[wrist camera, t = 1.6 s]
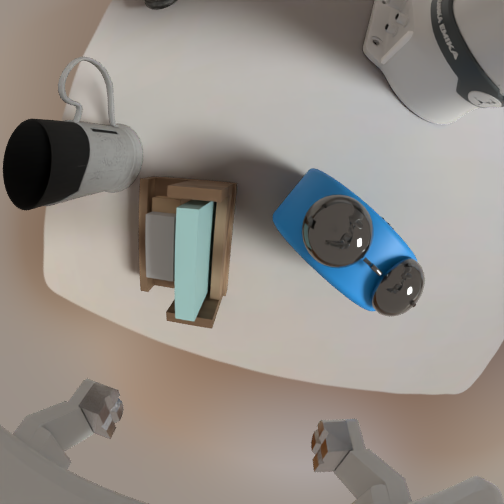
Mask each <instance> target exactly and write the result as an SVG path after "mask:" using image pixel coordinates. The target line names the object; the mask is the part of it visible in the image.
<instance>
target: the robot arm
mask: <svg viewBox="0 0 504 504" xmlns="http://www.w3.org/2000/svg"><path fill="white" fill-rule="evenodd" d="M373 42H375V43H376V44H377V45H375V44H374V43H373ZM363 52H364V54H365V55H366V56H367V57H368V58H369V59H370V60H371V61H372V62H373V63H374V64H375V65H376V66H377V67H379V68H380V69H381V71H382V72H383V74H384V75H385V77H386V79H387V81H388V82H389V84H390V86H391V88H392V89H393V91H394V92H395V94H396V95H397V96H398V97H399V99H400V100H401V101H402V102H403V103H404V104H405V105H406V106H407V107H408V108H409V109H410V110H411V111H412V112H414V113H415V114H416V115H418V116H419V117H421V118H423V119H425V120H427V121H429V122H432V123H435V124H442V125H445V124H451V123H453V122H455V121H457V120H458V119H460V118H461V117H462V116H464V115H465V114H467V113H469V112H471V111H473V110H476V109H478V108H497V107H503V106H504V0H375V1H374V5H373V9H372V13H371V17H370V21H369V25H368V29H367V33H366V37H365V41H364V45H363ZM119 396H120V394H119V391H118V390H117V389H114V388H111V387H108V386H105V385H103V384H100V383H98V382H95V381H93V380H90V379H86V380H84V381H83V382H82V384H81V385H80V386H79V388H78V389H77V390H76V392H75V393H74V394H73V396H72V397H71V399H70V400H69V401H68V402H67V401H64V402H62V403H59V404H57V405H54V406H52V407H49V408H47V409H44V410H41V411H39V412H36V413H33V414H31V415H28V416H26V417H25V418H24V420H23V421H22V422H21V424H20V425H19V426H18V428H17V429H16V431H15V432H14V433H13V434H11V433H10V432H9V431H8V430H6V429H5V428H4V427H3V426H1V425H0V504H149V503H146V502H142V501H139V500H136V499H133V498H131V497H128V496H125V495H122V494H119V493H117V492H114V491H112V490H109V489H107V488H105V487H102V486H100V485H98V484H96V483H93V482H91V481H89V480H87V479H85V478H83V477H80V476H79V475H77V474H74V473H73V472H71V471H69V470H67V469H68V467H69V465H70V463H71V460H70V458H69V457H68V456H67V455H66V453H65V452H64V451H66V450H68V449H69V448H71V447H73V446H75V445H76V444H78V443H79V442H81V441H83V440H84V439H86V438H88V437H89V436H91V435H92V434H93V433H95V434H98V435H101V436H104V437H106V438H109V439H111V437H112V435H113V433H114V431H115V429H116V427H115V423H117V422H118V421H120V419H121V417H122V414H123V404H122V401H121V400H120V399H119ZM311 448H312V452H313V453H314V454H315V457H314V458H313V467H314V472H331V471H334V473H335V474H336V476H337V477H338V478H339V479H340V480H341V481H342V483H343V484H344V485H345V486H346V487H347V488H348V489H349V491H350V492H351V493H352V494H353V495H354V496H355V497H356V499H357V500H355V501H354V502H353V503H352V504H504V500H503V497H502V494H501V492H500V490H499V488H498V487H497V486H496V485H495V484H493V483H491V482H490V481H487V480H486V479H484V478H482V477H479V476H474V477H471V478H469V479H467V480H465V481H463V482H460V483H458V484H456V485H454V486H452V487H450V488H447V489H445V490H443V491H440V492H437V493H435V494H432V495H430V496H427V497H424V498H421V499H418V500H416V501H413V502H412V500H411V497H410V493H409V490H408V487H407V483H406V480H405V478H404V477H403V476H402V475H400V474H399V473H398V472H397V471H395V470H394V469H393V468H392V467H390V466H389V465H388V464H387V463H385V462H384V461H383V460H382V459H381V458H379V457H378V456H377V455H376V454H374V453H373V452H372V451H371V450H370V449H366V448H365V444H364V440H363V437H362V433H361V430H360V426H359V423H358V420H357V419H347V420H344V419H342V420H341V419H340V420H321V421H320V422H319V423H318V429H317V430H316V431H314V433H313V436H312V441H311Z"/></svg>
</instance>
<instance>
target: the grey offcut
mask: <svg viewBox="0 0 504 504" xmlns="http://www.w3.org/2000/svg"><path fill="white" fill-rule="evenodd" d="M175 233H176V214H174V213H163V212H153V211H152V212H149V213H147V214H146V227H145V245H146V277H148V278H154V279H160V280H166V281H174V280H175Z"/></svg>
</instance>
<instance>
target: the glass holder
mask: <svg viewBox="0 0 504 504" xmlns="http://www.w3.org/2000/svg"><path fill="white" fill-rule="evenodd" d="M80 61H88V62H90V63H92V64H93V65H95V66H96V67H97V68H98V70H99V71H100V72H101V74H102V76H103V78H104V80H105V83H106V87H107V96H108V115H109V122H110V125H102V124H95V123H88V122H81V121H80V118H81V115H82V110H83V109H82V105H81V104H80V103H78V102H76V101H73V100H71V99H69V98H68V97H67V95H66V92H65V82H66V78H67V76H68V74H69V72H70V71H71V69H72V68H73V67H74V65H76V64H77V63H78V62H80ZM58 92H59V95H60V98H62V100H63V101H64V102H65V103H68V104H70V105H74V106H76V114H75V117H74V119H73V120H65V121H54V120H42V119H28V120H26V121H24V122H22V123H21V124H20V125H19V126H18V127H17V128H16V129H15V130H14V132H13V133H12V135H11V137H10V139H9V141H8V144H7V146H6V150H5V155H4V161H3V178H4V184H5V188H6V191H7V194H8V196H9V198H10V199H11V201H12V202H13V204H14V205H15V206H16V207H18V208H20V209H22V210H30V209H34V208H37V207H41V206H50V205H54V204H58V203H61V202H65V201H68V200H72V199H76V198H79V197H83V196H87V195H91V194H95V193H99V192H103V191H106V192H119V191H122V190H124V189H126V188H127V187H128V186H130V185H131V184H132V183H133V182H134V180H135V179H136V177H137V176H138V174H139V172H140V169H141V166H142V161H143V148H142V144H141V141H140V138H139V137H138V135H137V133H136V132H135V131H134V130H133V129H131V128H130V127H128V126H126V125H123V124H115V118H114V96H113V84H112V81H111V78H110V76H109V74H108V72H107V70H106V69H105V68H104V67H103V66H102V64H101V63H99V62H98V61H96V60H94V59H92V58H88V57H79V58H76V59H74V60H73V61H71V62H70V63H69V64H68V65H67V67H66V68H65V69H64V71H63V72H62V74H61V76H60V79H59V84H58Z"/></svg>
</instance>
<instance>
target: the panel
mask: <svg viewBox="0 0 504 504" xmlns="http://www.w3.org/2000/svg"><path fill="white" fill-rule="evenodd" d="M216 206H217V202H213V201H203V200H193V199H192V200H190V201H188V202H186V203H184V204H182V205H181V206H179V207H177V210H176V233H175V318H176V319H182V320H188V321H195V319H196V317H197V314H198V312H199V310H200V308H201V306H202V303H203V301H204V299H205V297H206V294H207V292H208V290H209V288H210V286H211V273H212V258H213V244H214V230H215V218H216Z"/></svg>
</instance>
